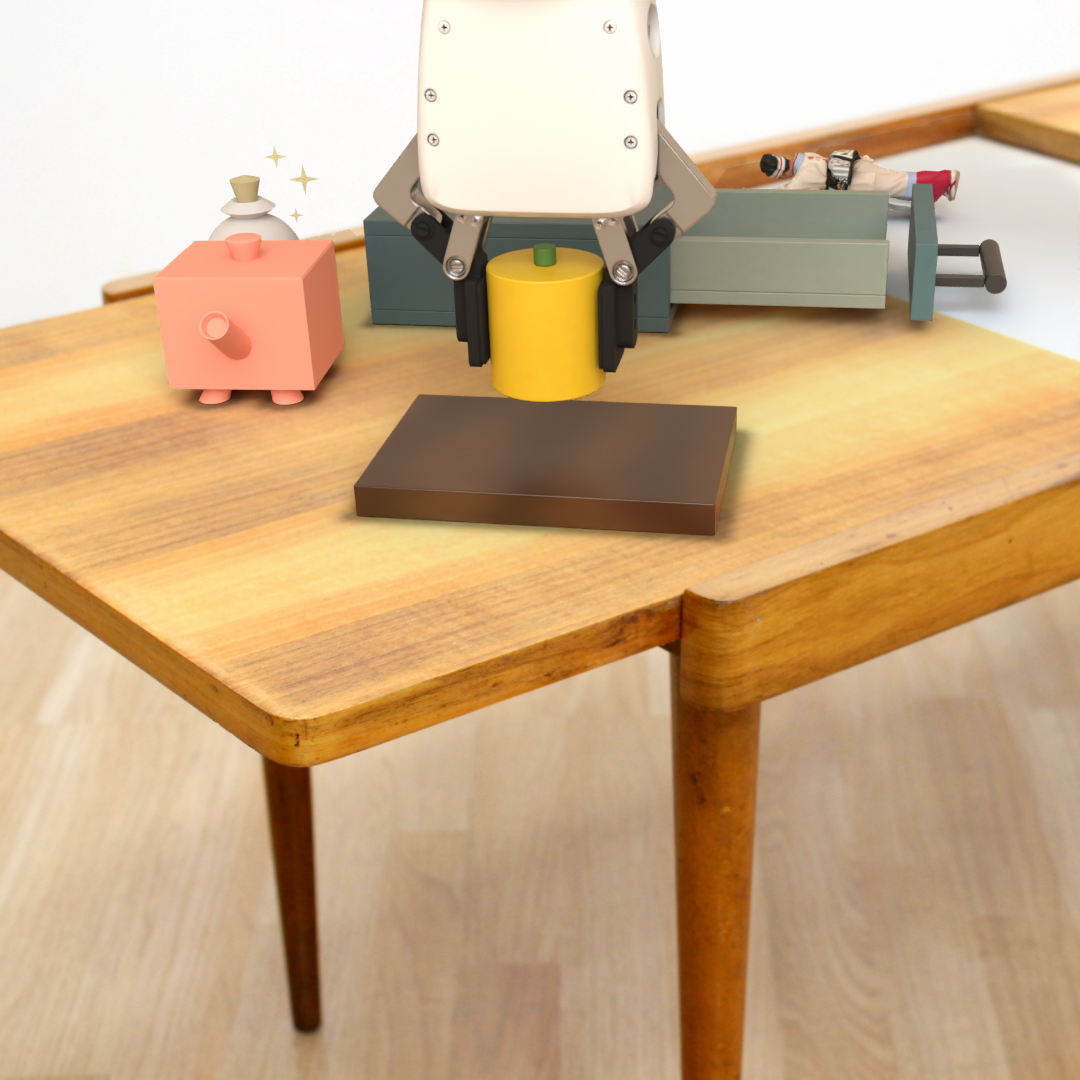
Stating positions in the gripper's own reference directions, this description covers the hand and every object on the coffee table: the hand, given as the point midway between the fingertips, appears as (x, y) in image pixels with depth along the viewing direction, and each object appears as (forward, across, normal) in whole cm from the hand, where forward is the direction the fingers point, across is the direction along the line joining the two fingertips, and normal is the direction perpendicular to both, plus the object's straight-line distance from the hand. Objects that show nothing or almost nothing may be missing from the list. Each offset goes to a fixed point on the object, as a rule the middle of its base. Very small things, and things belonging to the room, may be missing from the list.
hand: (547, 355), depth 70 cm
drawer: (+5, -12, -27) cm, 30 cm away
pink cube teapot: (+6, +18, -9) cm, 21 cm away
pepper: (+1, 0, 0) cm, 1 cm away
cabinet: (+6, +6, -27) cm, 28 cm away
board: (+6, 0, 0) cm, 6 cm away
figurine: (+6, -12, -47) cm, 49 cm away
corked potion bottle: (+6, +22, -22) cm, 32 cm away
